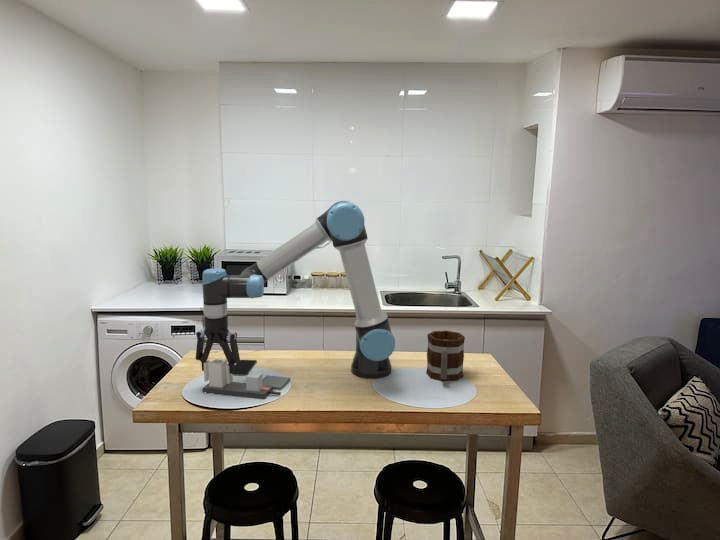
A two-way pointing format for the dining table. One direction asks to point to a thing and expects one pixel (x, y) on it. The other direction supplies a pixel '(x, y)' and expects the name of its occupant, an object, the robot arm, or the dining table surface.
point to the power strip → (241, 390)
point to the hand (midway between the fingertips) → (218, 380)
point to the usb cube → (254, 381)
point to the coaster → (276, 381)
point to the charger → (217, 373)
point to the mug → (445, 355)
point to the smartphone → (244, 367)
